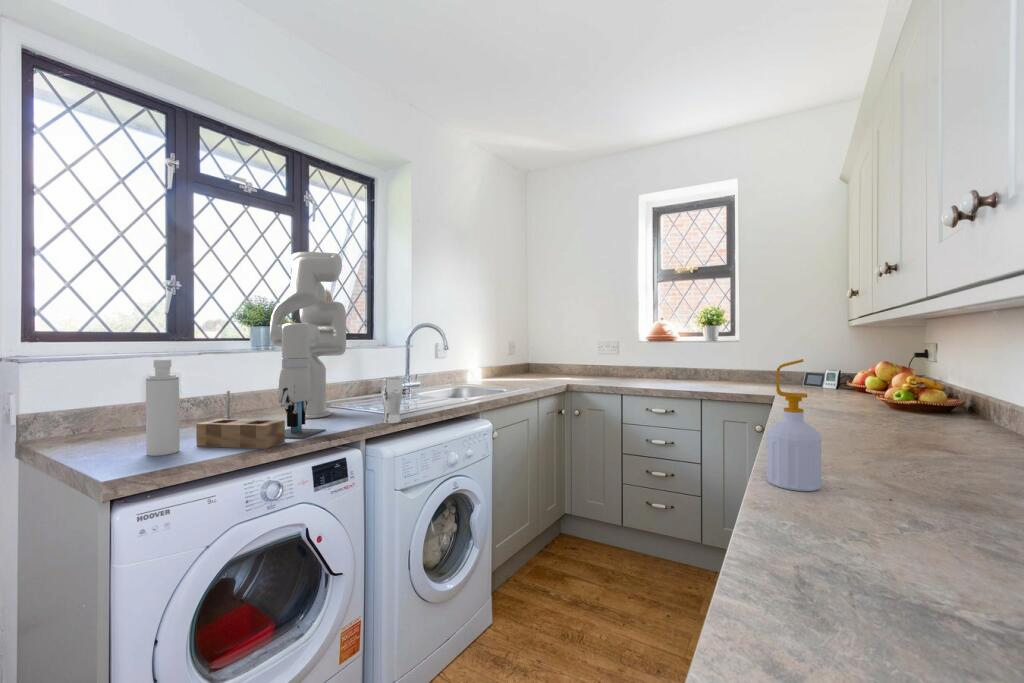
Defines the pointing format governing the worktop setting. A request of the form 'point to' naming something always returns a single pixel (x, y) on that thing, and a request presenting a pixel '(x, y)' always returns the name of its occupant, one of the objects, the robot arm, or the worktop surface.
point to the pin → (299, 428)
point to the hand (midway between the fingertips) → (296, 424)
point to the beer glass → (391, 399)
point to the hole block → (240, 433)
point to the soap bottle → (793, 447)
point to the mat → (304, 433)
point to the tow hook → (227, 406)
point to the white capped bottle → (162, 410)
